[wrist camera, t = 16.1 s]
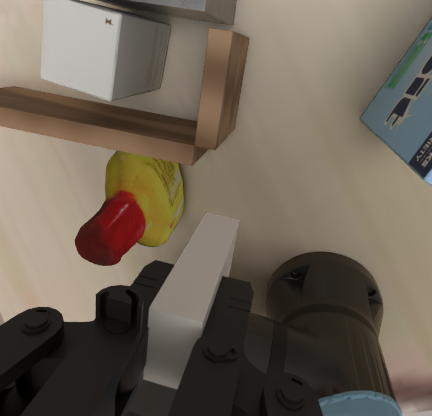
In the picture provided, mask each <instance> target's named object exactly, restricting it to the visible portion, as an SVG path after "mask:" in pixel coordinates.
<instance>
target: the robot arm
mask: <svg viewBox="0 0 432 416" xmlns="http://www.w3.org/2000/svg"><path fill="white" fill-rule="evenodd" d="M239 222H240V219H235V218H231V217H226V216H222V215H217V214H213V213H208V212H206V213H205V215H204V217H203V218H202V220H201V222H200V223H199V225H198V227H197V228H196V230H195V232H194V234H193V235H192V237H191V239H190V240H189V242H188V244H187V245H186V247H185V249H184V250H183V252H182V254H181V255H180V257H179V259H178V260H177V262H176V264H175V265H173V264H169V263H165V262H161V261H157V260H155V261H153V262H152V263H150V264H148V265H146V266H145V267H144V268H143V270H142V271H141V272H140V274H139V276H138V277H137V278H136V279H135V280H134V282H133V284H132V285H131V286H123V285H117V286H110V287H107V288H105V289H102V290H101V291H100V292H98V293H97V294H96V318H95V320H94V321H90V322H64V320H63V317H62V314H61V313H60V312H59V311H57V310H56V309H53V308H50V307H37V308H32V309H28V310H26V311H24V312H22V313H20V314H18V315H16V316H15V317H13V318H12V319H10V320H8V321H7V322H5V323H4V324H2V325H1V326H0V416H402V413H401V410H400V407H399V406H398V403H397V402H396V398H395V395H394V391H393V388H392V384H391V381H390V378H389V374H388V371H387V367H386V364H385V361H384V357H383V354H382V350H381V347H380V344H379V340H378V337H379V332H380V327H381V322H382V317H383V301H382V297H381V294H380V291H379V288H378V286H377V283H376V281H375V280H374V278H373V277H372V275H371V274H370V273H369V272H368V271H367V270H366V269H365V268H364V267H363V266H362V265H360V264H359V263H357V262H355V261H354V260H352V259H350V258H347V257H345V256H342V255H338V254H333V253H324V252H318V253H309V254H304V255H301V256H298V257H295V258H293V259H291V260H289V261H287V262H286V263H284V264H283V265H282V266H281V267H280V268H279V269H278V270H277V271H276V272H275V273H274V275H273V276H272V278H271V280H270V282H269V285H268V289H267V296H266V311H267V316H268V318H266V317H263V316H259V315H256V314H253V313H250V309H251V304H252V299H253V294H254V292H253V290H252V287H251V285H250V283H249V282H245V281H241V280H237V279H233V278H229V273H230V269H231V264H232V259H233V253H234V248H235V243H236V238H237V233H238V228H239Z"/></svg>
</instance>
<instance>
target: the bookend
mask: <svg viewBox="0 0 432 416" xmlns="http://www.w3.org/2000/svg"><path fill="white" fill-rule="evenodd" d="M98 1H101V2H105V3H108V4H112V5H115V6H119V7H122V8H126V9H130V10H136V11H142V12H149V13H155V14H162V15H169V16H175V17H182V18H188V19H195V20H202V21H208V22H215V23H222V24H228V25H233V23H234V16H235V9H236V2H237V0H98Z"/></svg>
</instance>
